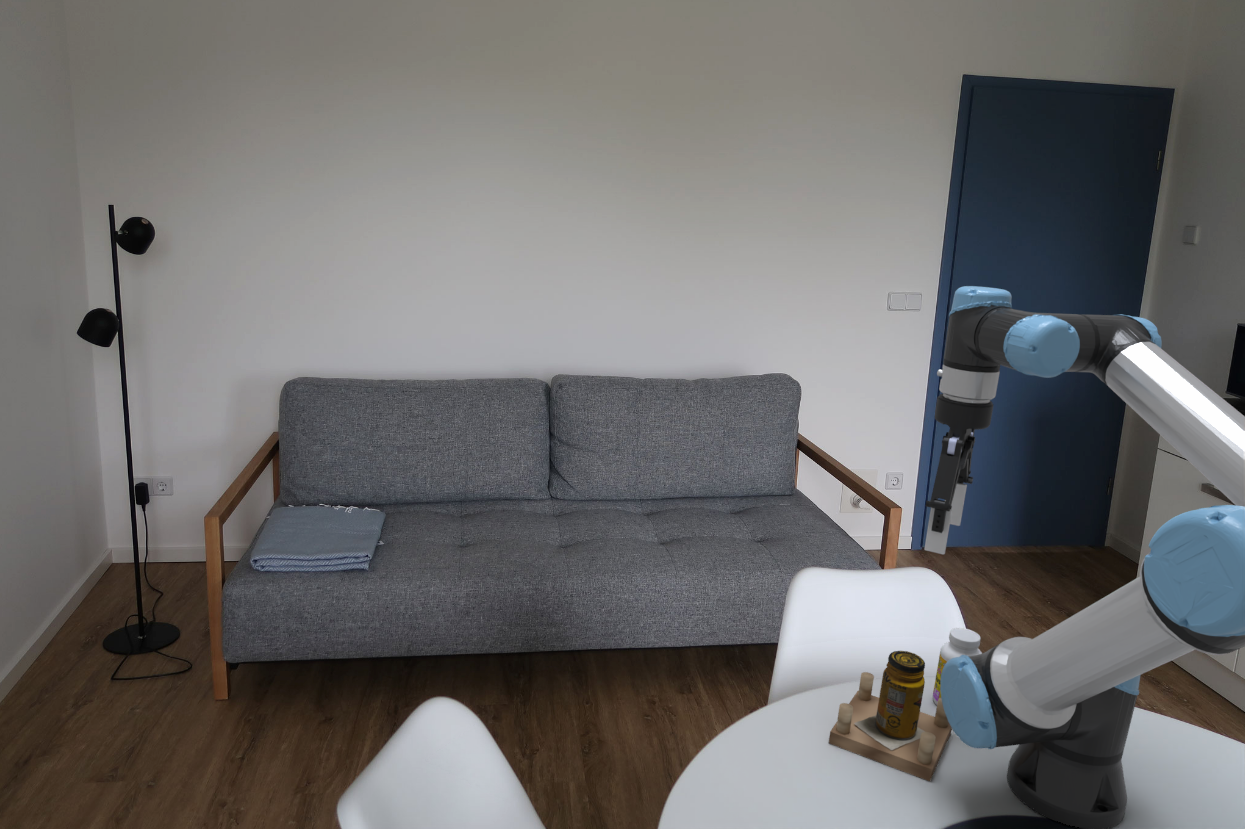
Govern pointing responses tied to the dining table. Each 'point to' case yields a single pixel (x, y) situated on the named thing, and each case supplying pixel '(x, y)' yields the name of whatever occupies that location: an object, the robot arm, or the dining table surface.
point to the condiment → (898, 702)
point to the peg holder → (907, 758)
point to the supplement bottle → (955, 652)
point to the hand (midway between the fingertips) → (942, 537)
